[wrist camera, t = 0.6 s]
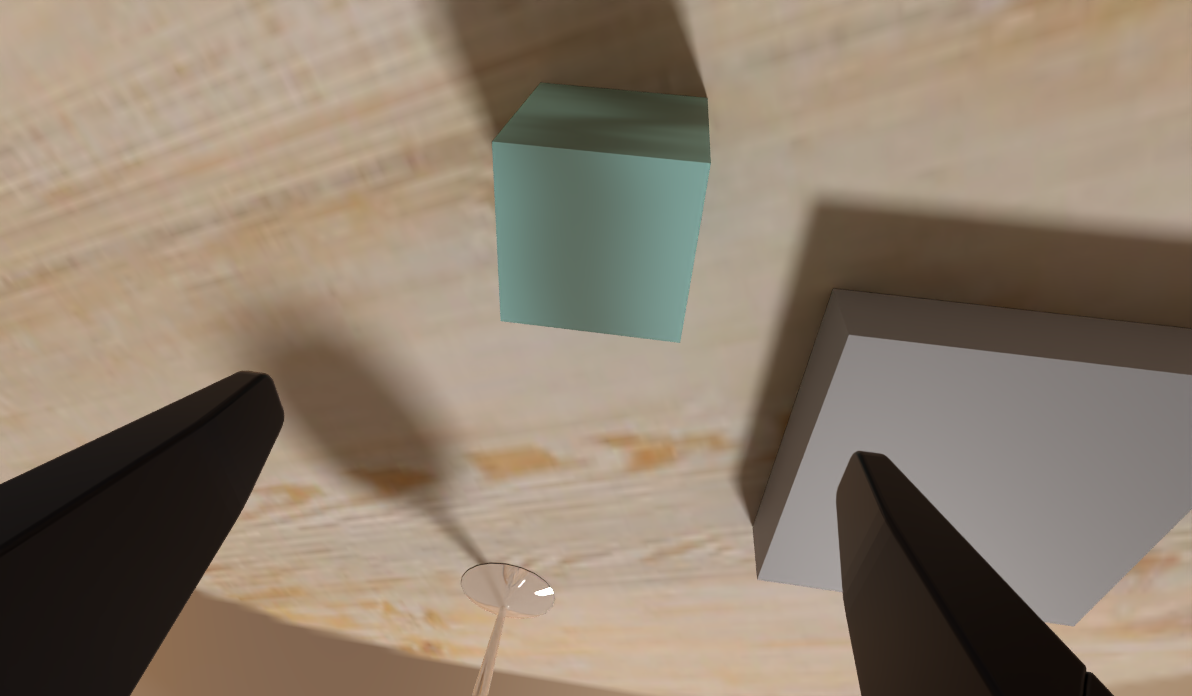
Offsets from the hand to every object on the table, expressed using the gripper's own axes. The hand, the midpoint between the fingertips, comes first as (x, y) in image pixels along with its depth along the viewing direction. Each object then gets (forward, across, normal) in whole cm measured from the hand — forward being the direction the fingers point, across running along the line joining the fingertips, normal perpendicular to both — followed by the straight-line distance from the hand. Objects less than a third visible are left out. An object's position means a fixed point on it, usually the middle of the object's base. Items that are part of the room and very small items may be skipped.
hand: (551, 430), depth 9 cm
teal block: (+11, 0, 0) cm, 11 cm away
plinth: (+11, -13, +9) cm, 19 cm away
